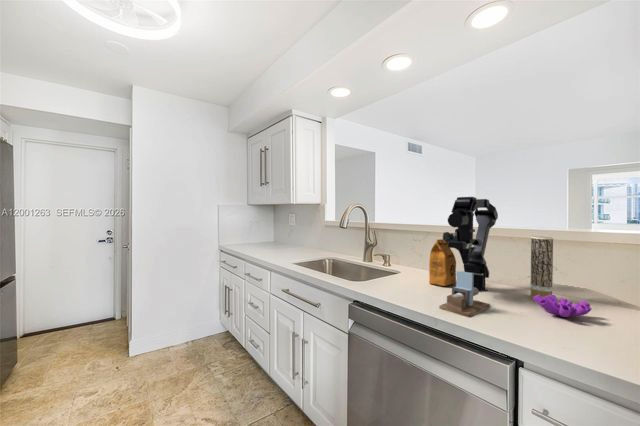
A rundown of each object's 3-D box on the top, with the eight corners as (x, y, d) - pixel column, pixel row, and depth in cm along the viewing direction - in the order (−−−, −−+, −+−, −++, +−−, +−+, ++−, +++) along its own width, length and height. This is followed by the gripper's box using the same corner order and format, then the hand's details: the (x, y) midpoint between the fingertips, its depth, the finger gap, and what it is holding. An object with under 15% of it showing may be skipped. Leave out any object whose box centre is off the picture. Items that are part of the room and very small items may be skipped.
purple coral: (589, 335, 85) (585, 314, 81) (531, 319, 97) (525, 300, 94) (596, 307, 90) (592, 287, 87) (540, 295, 102) (535, 277, 99)
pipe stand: (461, 299, 108) (461, 284, 108) (489, 306, 100) (489, 290, 100) (439, 308, 97) (439, 291, 97) (468, 317, 90) (468, 298, 90)
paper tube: (556, 302, 105) (557, 238, 105) (536, 301, 106) (537, 237, 106) (545, 297, 112) (546, 236, 112) (526, 296, 113) (527, 236, 113)
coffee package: (459, 284, 130) (460, 238, 130) (445, 288, 123) (445, 240, 123) (440, 280, 139) (440, 237, 139) (425, 283, 132) (426, 238, 132)
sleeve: (457, 300, 101) (458, 270, 101) (473, 304, 97) (473, 273, 97) (453, 301, 99) (454, 271, 99) (469, 305, 95) (469, 274, 95)
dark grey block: (453, 301, 99) (454, 287, 99) (469, 305, 95) (469, 290, 95) (451, 302, 98) (451, 287, 98) (467, 306, 94) (467, 291, 94)
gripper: (456, 225, 126) (456, 259, 126) (435, 226, 115) (434, 263, 115) (482, 226, 117) (482, 262, 117) (462, 227, 106) (462, 267, 106)
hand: (464, 263), depth 114 cm, fingers closed
